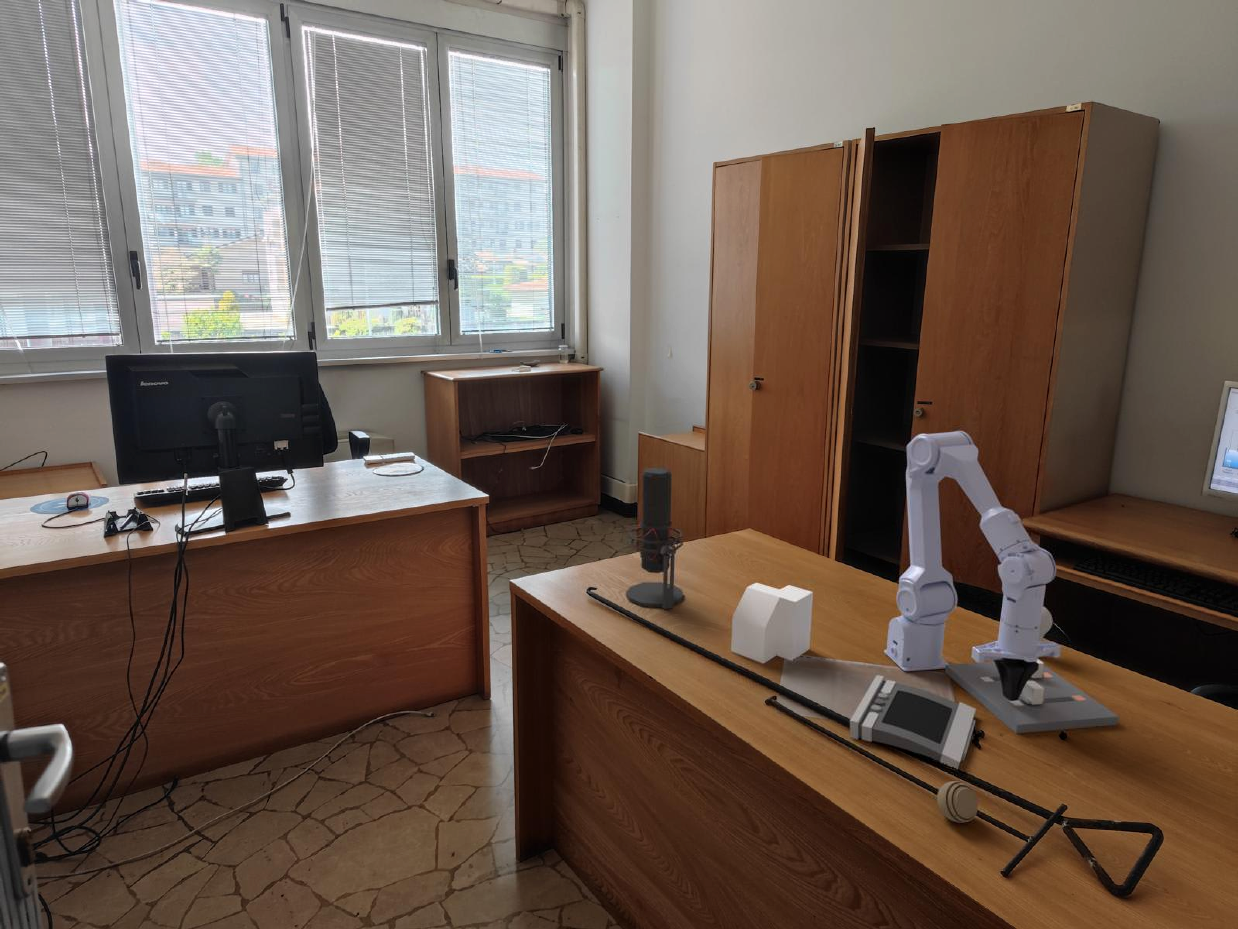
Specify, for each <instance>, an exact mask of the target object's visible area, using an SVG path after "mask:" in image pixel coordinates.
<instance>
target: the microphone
mask: <svg viewBox="0 0 1238 929" xmlns="http://www.w3.org/2000/svg"><path fill="white" fill-rule="evenodd" d="M641 482H642V484H641V485H642V488H641V489H642V490H641V491H642V492H641V500H642V502H641V521H640V523H639V524H638V525H637V527H635V528H634V529H631V531H630V532H629V533H628V536H629V538H630V540H629V542H628V543H629V545H630V548H631V549H634V550H636V551H637V552H638V553H639V554H640V555H639V557H640V558H641V563H640V565H641V566H640V567H641V569H643V570H645V571H646V572H647V573H651V574H652V573H653V574H660V573H663V577H662V578H663V580H662V581H663V582H662V581H656V582H655V581H653V582H652V581H650V582H647V581H646V582H641V583H638V584H635V585H631V586H630V587H628V589H627V590H626V592H625V595H626V598H627V600H628V601H629V602H631V603H632V604H636V605H638V606H641V607H644V608H645V607H646V608H662V609H663V610H666V609H673V608H674V605H676V604H679V603H681V601H682V600H683V598H684V596H685V595H684V592H683V590H682V588H680V587H678V586H676V585H674V584H675V557H676V555H675V554H676V553H677V551H678V550H679V549H680V548H681V547H682V546H684V542H683V541H682V540H681V539H683V533H682V531H681V530H680V529H678V528H674V527H673V526H672V521H671V519H672V518H671V517H672V514H671V512H672V510H671V508H672V472H671V469H670V468H669V469H668V468H664V467H647V468H646V469H644V470H642V481H641ZM637 531H641V535H636V536H634V535H633V533H634V532H637ZM671 531H672V532H674V533H675V534H678V537H676V536H673V535H671ZM634 541H637V542H638V543H637V544H638V545H639V542H640V543H641V547H640V546H636V545H634V544H633V542H634ZM674 543H676V545H675V544H674ZM669 568H670V569H669ZM668 571H670V572H668ZM668 573H669V583H668Z"/></svg>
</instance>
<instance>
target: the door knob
mask: <svg viewBox="0 0 1238 929" xmlns="http://www.w3.org/2000/svg"><path fill="white" fill-rule="evenodd" d="M936 800H937V805H938V809H939V810H940V812H941V813H942V814H943V816H945V817H946V818H947V819H948V820H950V821H952V822H954V823H960V824H961V823H962V824H963V823H969V822H971V821H972V820H973V819H974V818H975V817H976V815H977V813H978V809H979V808H978V807H979V804H978V802H979V801H978V798H977V795H976V793H975V791H974V790H973V789H972V787H970V785H968V784H966V783H964V782H961V781H956V780H954V781H953V780H952V781H947V782H945V783H944V784H942V786H940V788H939V789H938V792H937V795H936Z"/></svg>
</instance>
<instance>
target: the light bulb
mask: <svg viewBox="0 0 1238 929" xmlns="http://www.w3.org/2000/svg"><path fill="white" fill-rule="evenodd" d="M1052 626H1053V617H1052V613H1051V612H1050V611H1049V610H1048V609H1047V607H1045V606H1043V609H1042V616H1041V624H1040V630H1039V637H1038V641H1042V640H1043V638H1044V636H1045V635H1046V634H1047V633H1048V632H1049V631H1050V629H1051V628H1052Z"/></svg>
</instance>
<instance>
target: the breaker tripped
mask: <svg viewBox="0 0 1238 929" xmlns="http://www.w3.org/2000/svg"><path fill="white" fill-rule="evenodd" d="M1043 693H1044V688H1043V687H1042V686H1040V685H1039V684H1037V683H1036V682H1035V681H1027V683H1026V684H1025V686H1024V688H1023V691H1022V695H1020V698H1021V699H1022V700H1023V701H1025V702H1026V703H1027V704H1032V705H1033V704H1042V703H1044V699H1043Z"/></svg>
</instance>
